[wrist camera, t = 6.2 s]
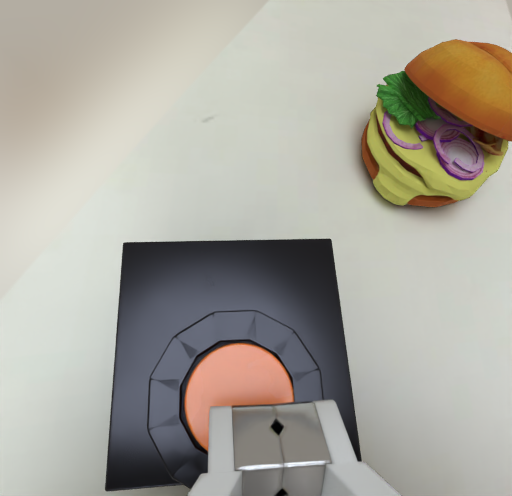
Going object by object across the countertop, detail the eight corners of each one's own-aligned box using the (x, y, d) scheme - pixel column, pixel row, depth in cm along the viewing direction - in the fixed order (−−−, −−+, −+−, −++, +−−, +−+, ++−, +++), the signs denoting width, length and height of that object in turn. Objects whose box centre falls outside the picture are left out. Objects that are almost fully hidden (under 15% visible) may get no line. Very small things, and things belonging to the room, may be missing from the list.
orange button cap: (288, 447, 14) (299, 457, 12) (188, 455, 13) (183, 466, 11) (280, 346, 15) (289, 340, 13) (189, 351, 14) (184, 345, 13)
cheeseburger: (322, 165, 28) (391, 34, 20) (379, 109, 34) (451, -9, 26) (436, 246, 26) (563, 138, 18) (475, 173, 32) (586, 67, 24)
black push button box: (319, 449, 21) (383, 488, 13) (141, 463, 20) (87, 515, 12) (301, 278, 25) (343, 223, 17) (149, 282, 24) (112, 226, 16)
